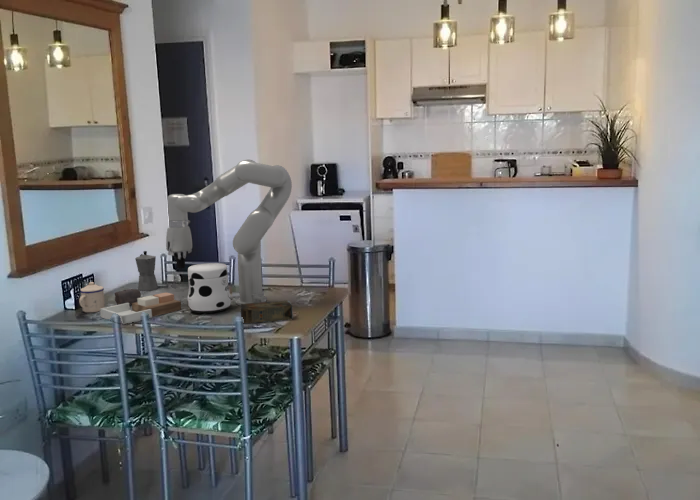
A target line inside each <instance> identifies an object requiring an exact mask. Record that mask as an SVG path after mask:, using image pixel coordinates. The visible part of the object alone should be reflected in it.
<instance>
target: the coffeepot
mask: <svg viewBox="0 0 700 500" xmlns="http://www.w3.org/2000/svg"><path fill="white" fill-rule="evenodd" d="M147 252H148V251H146V250H144V251H143V253H141V254H139V256H137V257H135V263H136V268H137V272H138V273H139V274H138V275H139V276H138V285H137V290H139V291H140V292H141V291H142V292H145V291H146V292H147V291H148V292H149V291H155V290H157V289H158V287H159V285H158V282H157V278H156V274H155V270H156V255H151V254H148V253H147Z"/></svg>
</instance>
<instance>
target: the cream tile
mask: <svg viewBox="0 0 700 500" xmlns="http://www.w3.org/2000/svg"><path fill="white" fill-rule="evenodd" d="M137 300H138V301H137V302H138V305H142V306H145V307H146V306H151V305H155V304H159V298H158V297H155V296H153V295H147V296H142V297H140V298H137Z"/></svg>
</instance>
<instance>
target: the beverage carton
mask: <svg viewBox="0 0 700 500" xmlns="http://www.w3.org/2000/svg"><path fill="white" fill-rule="evenodd" d="M293 315H294V314H293V305H292V303H291V301H290V300H282V301H281V300H280V301H266V302H261V303H246V304H241V305H240V318H241V317H243V319H244V323H248V324H255V323H254V322H259V323H264V322H263V321H271V322H278V321H277V320H282V321H289V320H288V319H292V320H293Z"/></svg>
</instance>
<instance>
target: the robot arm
mask: <svg viewBox="0 0 700 500" xmlns="http://www.w3.org/2000/svg"><path fill="white" fill-rule="evenodd" d="M247 184H253V185H258V186H264V187H267V188H268V187H269V188H270V189H269V190H268V192H267V193H266V194H265V196H264V198H263V199H262V201H261V202H260V204H259V205H258V206H257V207H256V208H255V209H254V210H252V211H251V212H250V214H249V215H248V216H247V217H246V218H245V220H244V221H243V223H242V225H241V226H240V227H239V229H238V230H237V232H236V233H235V235H234V237H233V238H232V247H233V249H234V251H235V252H236V253H237V271H238V290H239V298H238V299H237V300H235V303H236V305H238V306H241V304H246V303H261V302H268V300H267V299H268V297H267V296H265V294H264V292H263V279H262V278H263V276H262V253H261V252H262V250H261V249H262V239H263V238H264V236H265V235H266V234H267V232H268V231H269V229H270V228H271V227H272V226H273V225H274V222H275V221H276V219H277V217H278V216H279V214H280V212H282V210H283V208H284V207H285V205H286V203H287V202H288V200H289V198H290V197H291V193H292V190H293V189H292V187H293V186H292V185H293V184H292V178H291V176H290V174H289V172H288V170H287V169H286V168H285V166H284V167H283V166H282V165H279V164H278V165H277V164H276V165H269V164H263V163H260V162H256V161H255V160H253V159H247V158H246V159H243V160H241V161H239V162H238V163H237V164H236V165H235V166H232V168H230V169H228V170H226V171H224V172H223V173H221V174H220V175H219V176H216V178H215V180H213V182H211V183H210V184H209V185H207V186H205V187H204V188H202V189H201V190H199V191H197V192H193V193H192V194H183V193H172V194H169V195H168V196H167V208H168V210H167V211H168V226H169V227H167V231H166V235H165V236H166V238H165V246H166V249H165V250H166V251H167V252H168V253H167V255H168V256H171V257H172V256H173V257H174V259H176V260H175V261H176V267H177V268H178V269H184V268H186V267H185V266H186V257H187V255H188V254H190V253H192V251H193V250H192V249H193V239H192V231H191V228H190V226H189V224H190V223H191V220H189V218H188V217H189V216H188V213H198V212H201V211H203V210H205V209H206V208H208V207H210V206H212V205H213V204H214V203H217V202H218V201H220V200H221V199H223V198H225V197H228V196H229V195H231V194H233V193H234V192H236V191H238V190H239V189H240V188H242V187H244V186H245V185H247Z"/></svg>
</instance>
